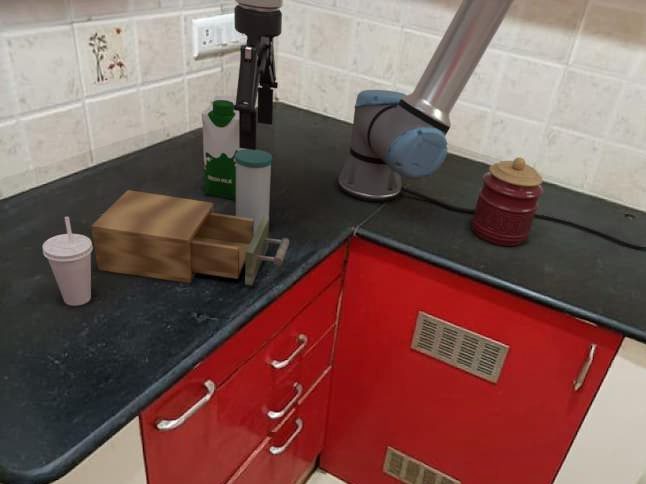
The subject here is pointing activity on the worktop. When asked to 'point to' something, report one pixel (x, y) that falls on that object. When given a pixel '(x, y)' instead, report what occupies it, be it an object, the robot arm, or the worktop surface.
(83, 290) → the smoothie
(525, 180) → the kitchen canister
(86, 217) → the worktop surface
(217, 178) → the milk carton
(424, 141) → the robot arm
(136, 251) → the cabinet
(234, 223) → the drawer
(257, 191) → the container
